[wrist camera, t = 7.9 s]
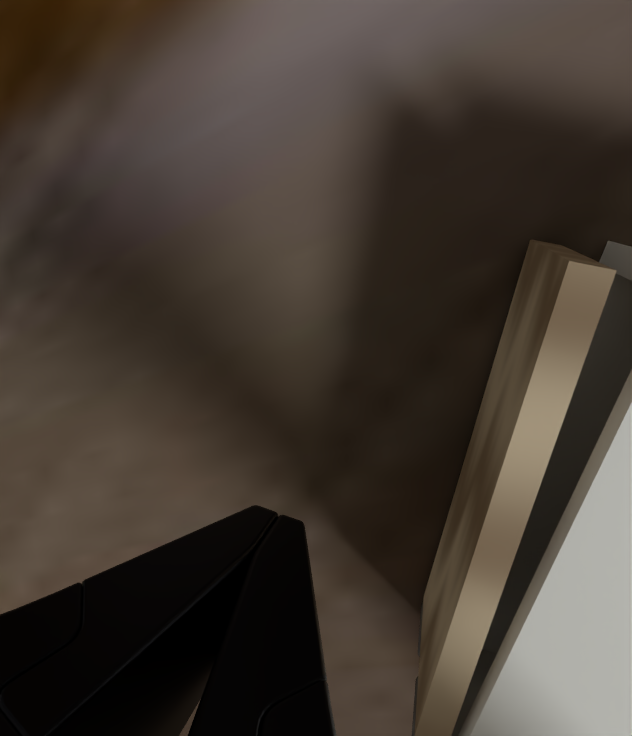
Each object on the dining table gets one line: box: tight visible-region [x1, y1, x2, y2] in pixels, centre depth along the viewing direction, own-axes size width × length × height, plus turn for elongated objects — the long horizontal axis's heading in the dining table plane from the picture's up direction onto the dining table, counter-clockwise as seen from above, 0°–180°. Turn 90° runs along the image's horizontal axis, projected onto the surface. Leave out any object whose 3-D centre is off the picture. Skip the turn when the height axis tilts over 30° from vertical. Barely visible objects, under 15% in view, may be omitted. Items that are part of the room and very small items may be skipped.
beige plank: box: [412, 239, 617, 736], centre depth 18 cm, size 16×1×6 cm, turn 170°
